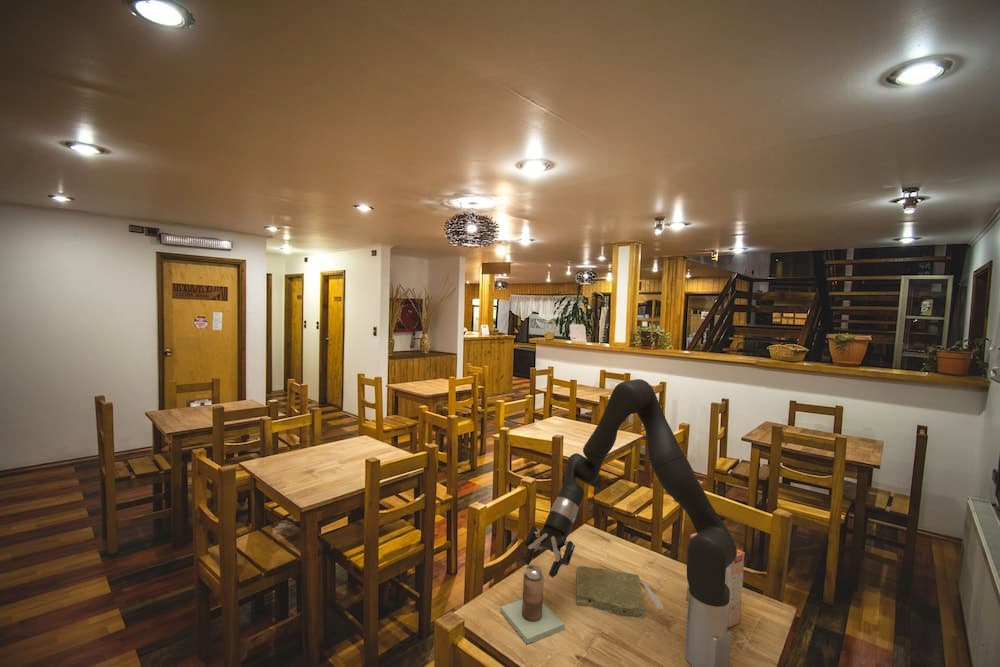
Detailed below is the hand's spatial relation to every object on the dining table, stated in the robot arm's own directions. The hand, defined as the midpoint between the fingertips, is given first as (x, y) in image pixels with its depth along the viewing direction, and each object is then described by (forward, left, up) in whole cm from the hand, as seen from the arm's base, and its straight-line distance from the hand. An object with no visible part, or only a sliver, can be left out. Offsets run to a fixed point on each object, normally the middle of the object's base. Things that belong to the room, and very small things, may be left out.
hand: (538, 570), depth 126 cm
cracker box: (-22, -48, -14) cm, 54 cm away
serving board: (-1, +2, -14) cm, 14 cm away
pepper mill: (-1, +2, -12) cm, 12 cm away
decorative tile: (-2, -26, -14) cm, 30 cm away
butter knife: (-2, -40, -14) cm, 43 cm away
